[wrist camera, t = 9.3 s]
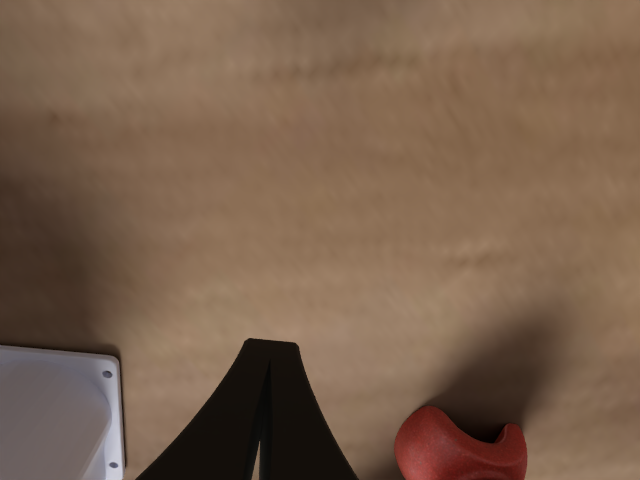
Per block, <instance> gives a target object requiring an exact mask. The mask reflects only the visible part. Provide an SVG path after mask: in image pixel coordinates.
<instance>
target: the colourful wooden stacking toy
mask: <svg viewBox="0 0 640 480" xmlns="http://www.w3.org/2000/svg"><path fill="white" fill-rule="evenodd" d="M394 453H395V457H396V460H397V463H398V466H399V468H400V470H401V472H402V474H403V476H404V478H405V479H406V480H524V478H525V474H526V468H527V448H526V442H525V439H524V436H523V434H522V431H521V429H520V428H519V426H518V425H517V424H512V423H508V424H507V425H505V427H504V428H503V430H502V431H501V433H500V435H499V436H498V438H497V439H496V441H495V442H494V444H491V443H485V442H481V441H479V440H476V439H474V438H472V437H470V436H468V435H467V434H466V433H464V432H463V431H461V430H460V429H459V428H458V427H457V426H456V425H455V424H454V423H453V422H452V421H451V420H450V419H449V417H448V416H447V415H446V414H445V413H444V412H443V411H442V410H440V409H439V408H437V407H434V406H424V407H422V408H420V409H419V410H417V411H416V412H415V413H413V414H412V415H411V416H410V417H409V418H408V419H407V420H406V421H405V422H404V423H403V425H402V426H401V428H400V430H399V431H398V433H397V436H396V439H395V444H394Z"/></svg>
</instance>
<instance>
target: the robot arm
mask: <svg viewBox="0 0 640 480" xmlns="http://www.w3.org/2000/svg"><path fill="white" fill-rule="evenodd" d="M107 371H110V372H111V373H108V372H107ZM259 441H260V465H259V480H359V479H358V478H357V476H356V474H355V473H354V471H353V470H352V468H351V466H350V465H349V463H348V461H347V460H346V458H345V456H344V455H343V453H342V451H341V449H340V448H339V446H338V444H337V442H336V440H335V438H334V437H333V435H332V433H331V431H330V429H329V427H328V425H327V423H326V421H325V419H324V416H323V414H322V412H321V410H320V408H319V405H318V403H317V401H316V398H315V396H314V394H313V391H312V389H311V386H310V384H309V381H308V378H307V375H306V372H305V369H304V366H303V363H302V359H301V355H300V351H299V346H298V345H297V344H296V343H293V342H283V341H273V340H263V339H253V338H249V339H247V340H246V341H244V344H243V346H242V348H241V350H240V352H239V354H238V356H237V358H236V359H235V361H234V363H233V364H232V366H231V368H230V369H229V371H228V372H227V374H226V375H225V377H224V378H223V380H222V381H221V383H220V384H219V385H218V387H217V388H216V390H215V391H214V393H213V394H212V395H211V397H210V398H209V399H208V400H207V402H206V403H205V404H204V405H203V407H202V408H201V409H200V410H199V412H198V413H197V414H196V415H195V417H194V418H193V419H192V420H191V422H190V423H189V424H188V425H187V426H186V427H185V429H184V430H183V431H182V432H181V433H180V434H179V435H178V437H177V438H176V439H175V440H174V441H173V442H172V443H171V444H170V445H169V446H168V447H167V448H166V449H165V450H164V452H163V453H162V454H161V455H160V456H159V457H158V458H157V459H156V460H155V461H154V462H153V463H152V464H151V465H150V466H149V467H148V468H147V469H146V470H144V471H143V472H142V473H141V474H140V475H139V476H138V477H137V478H136V479H135V480H251V479H252V474H253V470H254V465H255V460H256V456H257V451H258V446H259ZM124 475H125V457H124V440H123V422H122V404H121V386H120V368H119V361H118V360H117V358H115V357H114V356H110V355H101V354H90V353H80V352H69V351H58V350H47V349H36V348H25V347H15V346H4V345H0V480H122V479H123V477H124Z"/></svg>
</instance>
